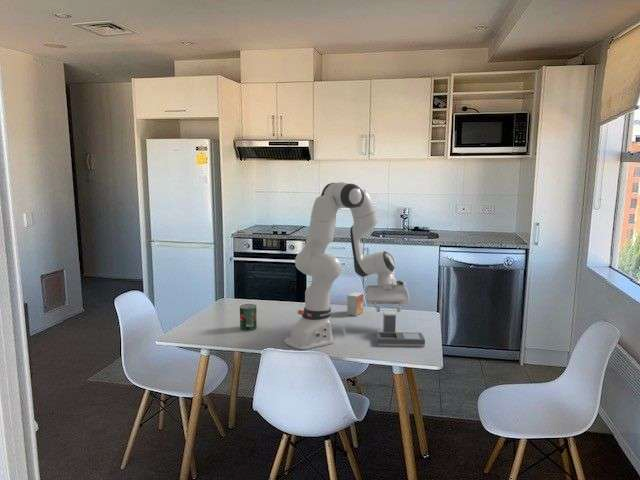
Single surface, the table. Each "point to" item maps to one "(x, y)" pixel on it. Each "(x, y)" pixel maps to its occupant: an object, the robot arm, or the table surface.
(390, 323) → the plug
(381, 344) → the gray rectangular base
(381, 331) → the tray
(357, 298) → the small box
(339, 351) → the table surface
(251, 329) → the canned tomato
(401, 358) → the table surface
